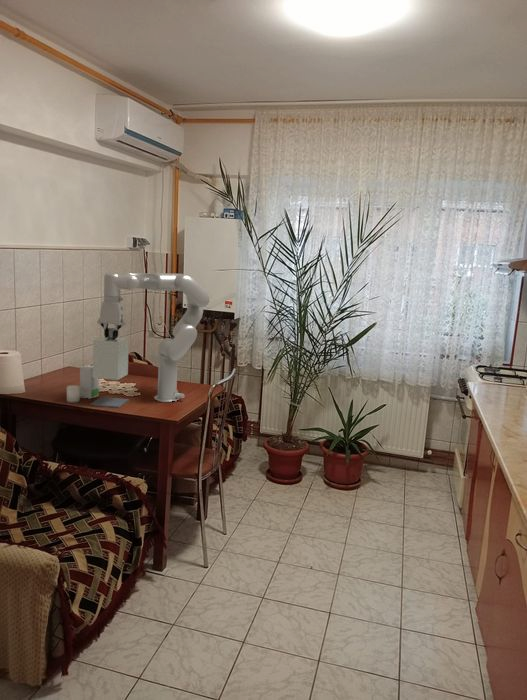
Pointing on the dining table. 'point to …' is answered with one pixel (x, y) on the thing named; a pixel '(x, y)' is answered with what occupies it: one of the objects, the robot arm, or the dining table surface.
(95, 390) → the skincare box
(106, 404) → the mat
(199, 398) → the dining table surface
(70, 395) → the white round cylinder
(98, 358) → the beige box
